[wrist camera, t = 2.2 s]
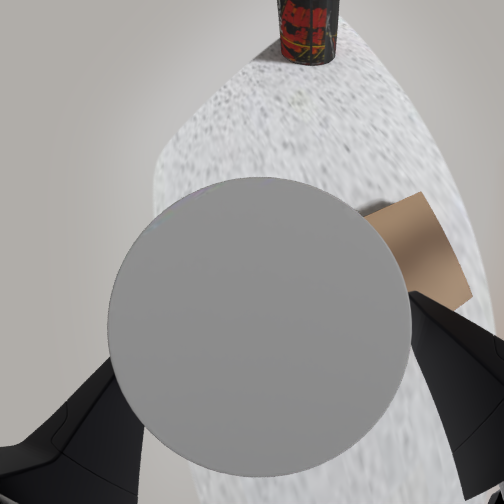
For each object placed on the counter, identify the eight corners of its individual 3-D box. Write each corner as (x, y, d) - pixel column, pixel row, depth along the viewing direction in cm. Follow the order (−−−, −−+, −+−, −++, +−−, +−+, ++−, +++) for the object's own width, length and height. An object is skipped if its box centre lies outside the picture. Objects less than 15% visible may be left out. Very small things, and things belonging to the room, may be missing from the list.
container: (229, 330, 18) (59, 317, 4) (278, 279, 19) (249, 121, 4) (280, 379, 17) (252, 528, 3) (330, 327, 18) (471, 310, 3)
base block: (454, 301, 17) (472, 296, 14) (366, 355, 17) (377, 358, 14) (408, 205, 19) (421, 191, 17) (317, 247, 19) (321, 235, 17)
